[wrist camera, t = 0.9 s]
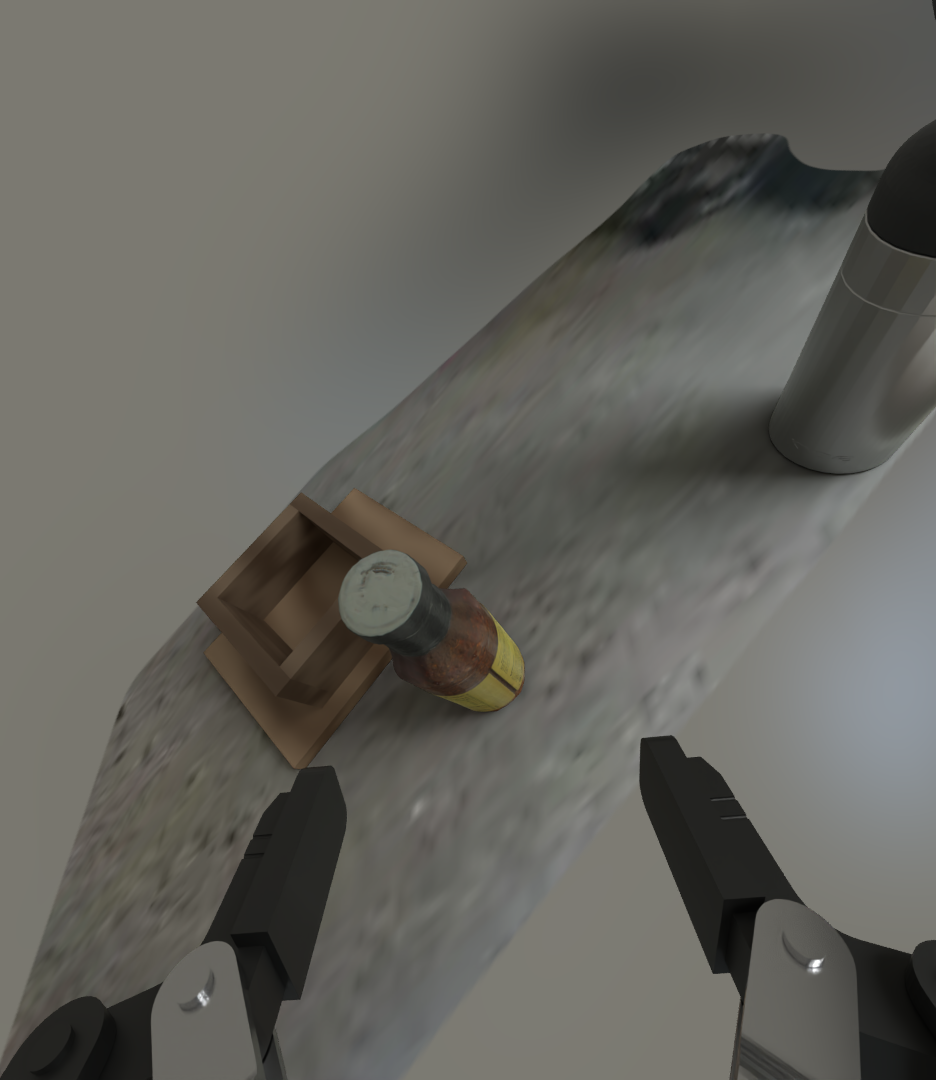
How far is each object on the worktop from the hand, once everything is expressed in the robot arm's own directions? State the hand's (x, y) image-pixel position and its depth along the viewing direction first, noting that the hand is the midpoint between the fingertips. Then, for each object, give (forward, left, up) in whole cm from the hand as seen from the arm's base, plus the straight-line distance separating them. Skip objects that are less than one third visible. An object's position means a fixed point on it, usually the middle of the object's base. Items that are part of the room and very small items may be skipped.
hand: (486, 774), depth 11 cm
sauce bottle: (-3, -9, -23) cm, 25 cm away
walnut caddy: (+1, -25, -23) cm, 34 cm away
